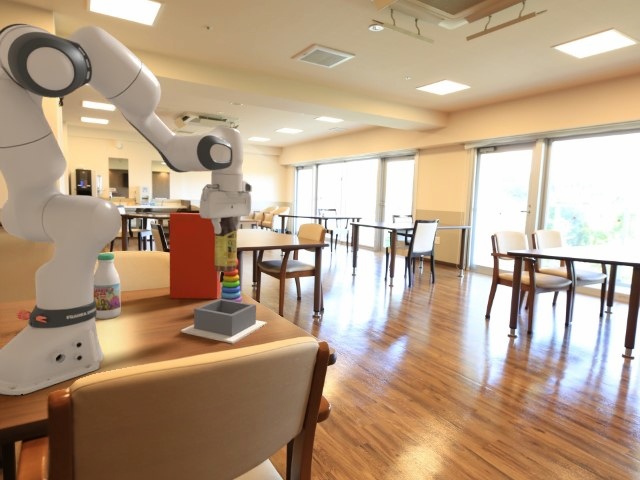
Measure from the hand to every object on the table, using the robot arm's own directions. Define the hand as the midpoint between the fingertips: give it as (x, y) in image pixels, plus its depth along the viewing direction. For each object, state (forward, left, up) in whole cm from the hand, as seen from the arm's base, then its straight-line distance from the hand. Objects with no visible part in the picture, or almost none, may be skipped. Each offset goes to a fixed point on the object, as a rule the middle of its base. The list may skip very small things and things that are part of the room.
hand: (226, 232), depth 113 cm
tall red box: (+23, +31, -29) cm, 48 cm away
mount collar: (0, 0, -29) cm, 29 cm away
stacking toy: (+18, +11, -29) cm, 36 cm away
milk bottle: (-9, +39, -29) cm, 49 cm away
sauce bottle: (0, 0, -12) cm, 12 cm away
